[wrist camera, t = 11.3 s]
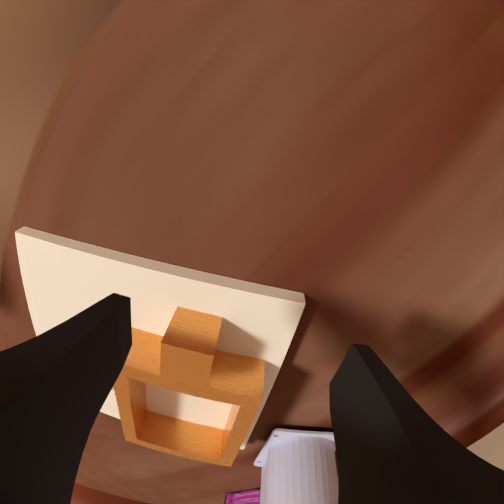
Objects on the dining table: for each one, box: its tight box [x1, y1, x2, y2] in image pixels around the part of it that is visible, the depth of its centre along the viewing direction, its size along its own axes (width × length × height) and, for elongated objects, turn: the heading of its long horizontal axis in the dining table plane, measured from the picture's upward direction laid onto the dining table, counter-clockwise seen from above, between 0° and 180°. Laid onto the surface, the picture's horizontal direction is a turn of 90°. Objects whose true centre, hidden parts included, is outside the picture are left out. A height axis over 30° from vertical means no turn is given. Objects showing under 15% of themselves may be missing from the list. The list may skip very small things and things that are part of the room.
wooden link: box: [114, 306, 265, 467], centre depth 20 cm, size 15×10×4 cm, turn 167°
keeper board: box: [15, 226, 306, 450], centre depth 19 cm, size 20×22×7 cm
